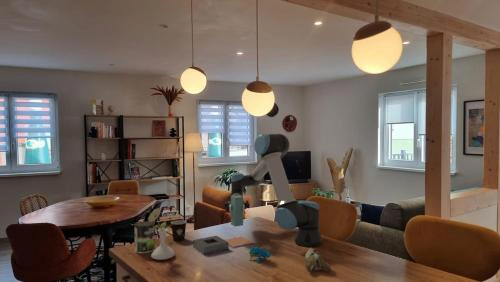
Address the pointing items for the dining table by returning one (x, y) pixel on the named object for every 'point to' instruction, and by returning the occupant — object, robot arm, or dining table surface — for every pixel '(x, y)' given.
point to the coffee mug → (178, 230)
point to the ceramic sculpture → (315, 261)
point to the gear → (259, 253)
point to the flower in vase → (163, 249)
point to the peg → (236, 210)
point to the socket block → (210, 245)
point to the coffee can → (144, 237)
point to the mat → (238, 242)
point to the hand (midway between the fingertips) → (237, 209)
